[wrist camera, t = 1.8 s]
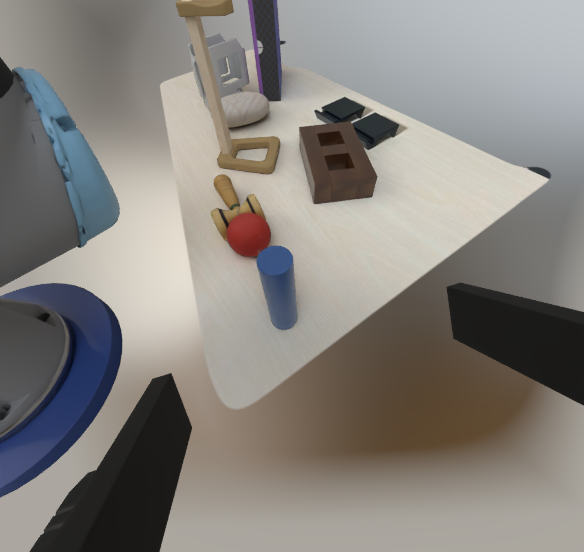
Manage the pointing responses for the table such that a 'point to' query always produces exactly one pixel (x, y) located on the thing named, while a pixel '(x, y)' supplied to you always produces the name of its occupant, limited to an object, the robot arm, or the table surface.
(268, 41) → the cereal box
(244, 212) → the kendama
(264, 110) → the decorative stone
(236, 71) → the cable organizer
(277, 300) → the peg
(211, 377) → the table surface
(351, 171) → the rack
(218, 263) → the table surface
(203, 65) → the headphone stand
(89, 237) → the robot arm
